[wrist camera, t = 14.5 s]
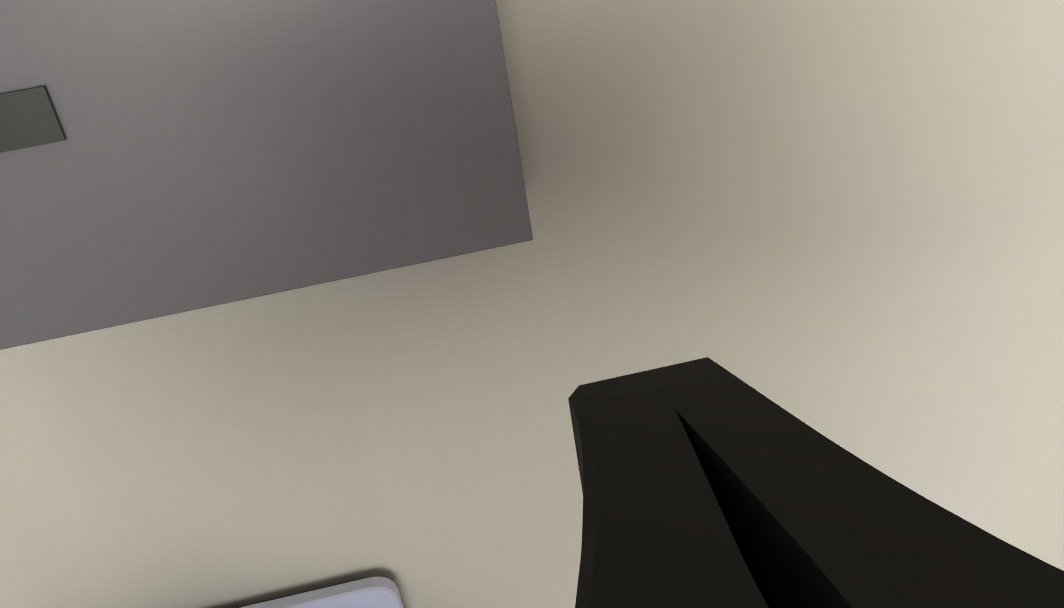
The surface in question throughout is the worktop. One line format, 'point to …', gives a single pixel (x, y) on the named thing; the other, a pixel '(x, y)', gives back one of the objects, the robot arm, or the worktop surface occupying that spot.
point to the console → (241, 151)
